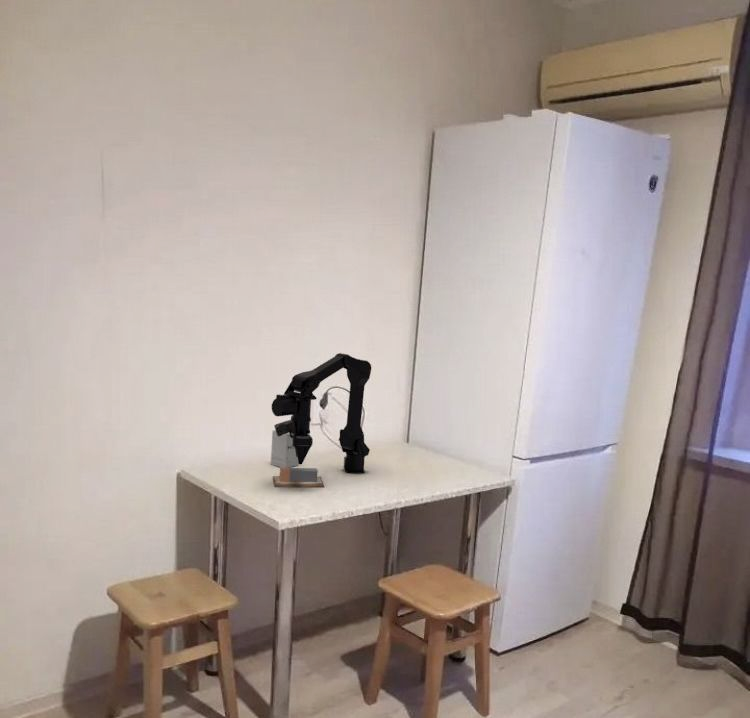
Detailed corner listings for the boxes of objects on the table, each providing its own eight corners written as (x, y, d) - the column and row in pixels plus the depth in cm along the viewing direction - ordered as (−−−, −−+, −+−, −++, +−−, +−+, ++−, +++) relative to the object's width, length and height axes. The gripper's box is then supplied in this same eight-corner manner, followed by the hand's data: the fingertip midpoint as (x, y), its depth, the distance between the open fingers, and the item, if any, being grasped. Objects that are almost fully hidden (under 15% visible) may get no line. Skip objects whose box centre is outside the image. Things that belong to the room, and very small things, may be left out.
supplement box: (285, 468, 249) (286, 433, 248) (270, 464, 254) (271, 429, 252) (299, 465, 255) (301, 430, 254) (284, 461, 259) (286, 427, 258)
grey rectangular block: (315, 478, 237) (316, 467, 236) (317, 482, 233) (317, 470, 233) (279, 478, 235) (280, 467, 234) (280, 481, 231) (280, 470, 230)
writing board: (320, 477, 241) (320, 475, 241) (324, 487, 230) (324, 485, 230) (272, 477, 238) (272, 475, 238) (274, 487, 227) (274, 484, 227)
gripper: (275, 407, 239) (272, 453, 241) (278, 418, 221) (275, 467, 222) (308, 408, 241) (305, 453, 243) (314, 419, 223) (311, 468, 225)
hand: (299, 460), depth 233 cm, fingers open, 9 cm apart
